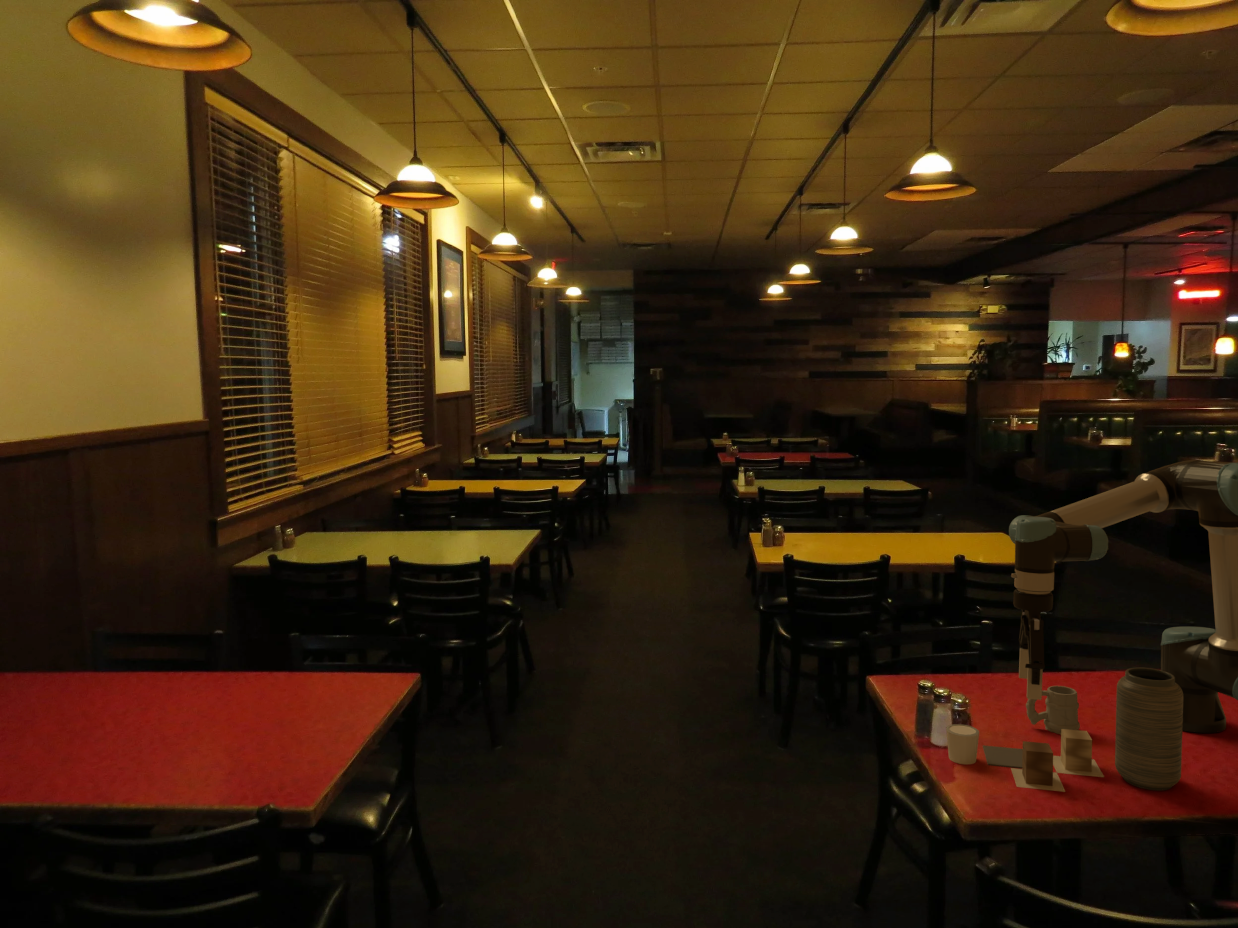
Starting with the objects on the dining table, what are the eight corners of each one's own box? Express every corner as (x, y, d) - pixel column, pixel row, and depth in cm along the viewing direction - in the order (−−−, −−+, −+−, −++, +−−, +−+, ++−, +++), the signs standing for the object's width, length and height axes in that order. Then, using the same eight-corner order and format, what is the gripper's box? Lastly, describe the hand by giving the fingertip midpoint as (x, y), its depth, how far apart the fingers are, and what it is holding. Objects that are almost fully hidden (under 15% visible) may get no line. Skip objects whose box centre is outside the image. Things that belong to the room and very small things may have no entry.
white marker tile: (1056, 773, 181) (1056, 772, 181) (1065, 792, 173) (1065, 791, 173) (1010, 769, 184) (1010, 767, 184) (1016, 787, 175) (1016, 786, 175)
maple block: (1086, 761, 186) (1086, 730, 185) (1091, 771, 181) (1092, 739, 180) (1060, 759, 187) (1061, 728, 187) (1065, 769, 183) (1065, 737, 182)
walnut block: (1048, 775, 180) (1048, 743, 179) (1052, 785, 175) (1053, 752, 175) (1022, 772, 181) (1022, 740, 181) (1026, 783, 177) (1026, 750, 176)
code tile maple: (1094, 760, 187) (1094, 759, 187) (1104, 778, 179) (1104, 776, 179) (1049, 756, 190) (1049, 754, 190) (1056, 773, 181) (1056, 772, 181)
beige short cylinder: (976, 769, 184) (976, 737, 184) (942, 762, 188) (943, 731, 187) (981, 757, 190) (981, 727, 190) (949, 751, 194) (949, 721, 193)
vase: (1191, 796, 170) (1195, 684, 168) (1128, 793, 172) (1130, 682, 170) (1165, 771, 181) (1168, 665, 179) (1105, 768, 183) (1108, 664, 181)
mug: (1084, 737, 200) (1085, 687, 199) (1030, 734, 202) (1031, 685, 201) (1073, 724, 207) (1074, 676, 206) (1021, 722, 209) (1022, 674, 208)
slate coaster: (1030, 752, 192) (1030, 749, 192) (1038, 770, 183) (1038, 768, 183) (982, 747, 195) (982, 745, 195) (987, 766, 186) (987, 763, 186)
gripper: (1007, 577, 194) (1004, 668, 195) (1021, 601, 170) (1017, 705, 172) (1044, 579, 191) (1040, 672, 193) (1062, 604, 168) (1058, 710, 169)
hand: (1029, 688), depth 182 cm, fingers open, 13 cm apart
